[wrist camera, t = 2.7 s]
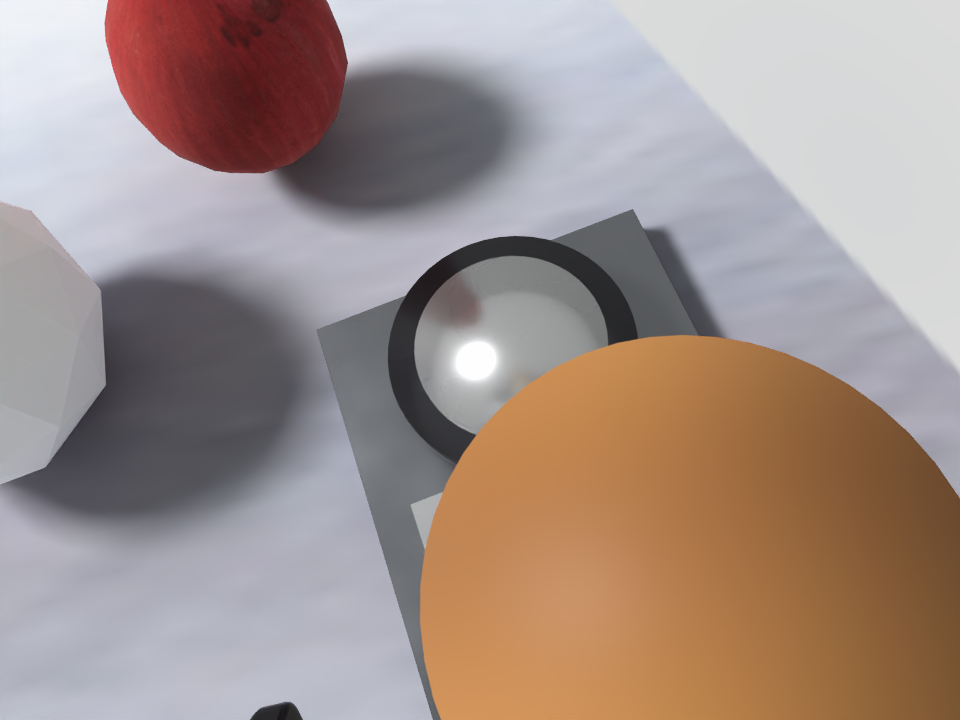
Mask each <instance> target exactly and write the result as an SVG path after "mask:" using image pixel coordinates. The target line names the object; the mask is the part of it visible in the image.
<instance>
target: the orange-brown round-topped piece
mask: <svg viewBox="0 0 960 720" xmlns="http://www.w3.org/2000/svg"><path fill="white" fill-rule="evenodd" d="M420 626H421V635H422V644H423V653H424V661H425V665H426V670H427V674H428V678H429V682H430V686H431V691H432V695H433V699H434V702H435V705H436V707H437V710H438V713H439V715H440V718H441V720H960V498H959V497H958V495H957V494H956V492H955V491H954V489H953V488H952V486H951V485H950V484H949V482H948V481H947V479H946V478H945V476H944V475H943V473H942V472H941V471H940V469H939V468H938V466H937V465H936V463H935V462H934V461H933V460H932V459H931V458H930V457H929V455H928V454H927V453H926V452H925V451H924V450H923V449H922V447H921V446H920V445H919V444H918V443H917V442H916V441H915V440H914V438H913V437H912V436H911V435H910V434H909V433H908V432H907V431H906V430H905V429H904V428H903V427H901V426H900V425H899V424H898V423H897V422H896V421H895V420H894V419H893V418H892V417H890V416H889V415H888V414H887V413H886V412H885V411H884V410H883V409H882V408H881V407H879V406H878V405H876V404H875V403H874V402H872V401H871V400H869V399H868V398H867V397H865V396H864V395H863V394H861V393H860V392H858V391H857V390H856V389H854V388H853V387H851V386H850V385H848V384H847V383H845V382H843V381H841V380H840V379H838V378H836V377H834V376H832V375H831V374H829V373H827V372H825V371H824V370H822V369H820V368H818V367H816V366H814V365H811V364H809V363H807V362H804V361H802V360H800V359H797V358H795V357H793V356H790V355H788V354H786V353H783V352H779V351H776V350H773V349H769V348H766V347H762V346H759V345H756V344H752V343H748V342H742V341H737V340H731V339H725V338H719V337H708V336H691V335H675V336H659V337H647V338H642V339H636V340H631V341H625V342H620V343H616V344H613V345H609V346H606V347H603V348H600V349H597V350H593V351H590V352H587V353H585V354H583V355H580V356H578V357H576V358H574V359H572V360H569V361H567V362H565V363H563V364H561V365H559V366H557V367H555V368H553V369H552V370H550V371H549V372H547V373H545V374H544V375H542V376H540V377H539V378H537V379H536V380H534V381H532V382H531V383H529V384H528V385H527V386H526V387H524V388H523V389H522V390H521V391H520V392H518V393H517V394H516V395H515V396H513V397H512V398H511V399H510V400H508V401H507V402H506V403H505V404H504V405H503V406H502V407H501V408H500V409H499V410H498V411H497V412H496V413H495V414H494V415H493V416H492V418H491V419H490V420H489V421H488V422H487V423H486V424H485V425H484V426H483V427H482V428H481V430H480V431H479V432H478V434H477V435H476V437H475V438H474V439H473V441H472V442H471V443H470V445H469V446H468V447H467V449H466V450H465V452H464V453H463V455H462V456H461V458H460V460H459V462H458V464H457V465H456V467H455V469H454V471H453V473H452V474H451V476H450V478H449V480H448V482H447V484H446V486H445V489H444V491H443V494H442V496H441V499H440V501H439V504H438V506H437V509H436V511H435V514H434V517H433V521H432V525H431V528H430V532H429V536H428V540H427V544H426V548H425V554H424V562H423V569H422V577H421V584H420Z"/></svg>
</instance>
